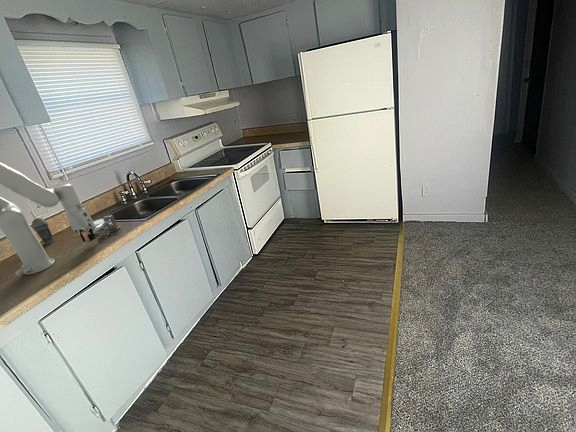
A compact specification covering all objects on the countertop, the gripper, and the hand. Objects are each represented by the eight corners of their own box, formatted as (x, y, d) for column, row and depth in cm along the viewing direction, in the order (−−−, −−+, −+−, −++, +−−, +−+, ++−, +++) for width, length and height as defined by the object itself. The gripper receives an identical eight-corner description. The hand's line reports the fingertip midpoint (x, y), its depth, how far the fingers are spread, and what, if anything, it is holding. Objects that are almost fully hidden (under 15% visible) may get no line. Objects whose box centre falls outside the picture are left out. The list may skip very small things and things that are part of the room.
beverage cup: (49, 245, 173) (31, 213, 165) (39, 246, 175) (21, 215, 167) (60, 239, 179) (43, 208, 171) (50, 239, 181) (33, 209, 173)
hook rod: (90, 242, 158) (85, 231, 156) (84, 242, 159) (79, 232, 157) (115, 224, 176) (111, 215, 174) (110, 225, 177) (106, 215, 175)
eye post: (115, 231, 174) (108, 217, 170) (107, 232, 175) (100, 218, 172) (120, 227, 178) (114, 214, 175) (112, 228, 180) (106, 214, 176)
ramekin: (88, 236, 175) (84, 228, 173) (93, 229, 185) (89, 221, 183) (108, 231, 177) (105, 223, 175) (112, 224, 187) (109, 216, 185)
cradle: (105, 238, 167) (102, 230, 166) (98, 239, 168) (94, 231, 167) (110, 234, 171) (107, 227, 169) (103, 235, 172) (99, 228, 170)
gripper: (93, 203, 154) (107, 235, 162) (66, 207, 158) (81, 237, 165) (81, 209, 148) (97, 242, 155) (54, 213, 151) (71, 244, 159)
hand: (89, 239), depth 160 cm, fingers closed on hook rod, 3 cm apart
